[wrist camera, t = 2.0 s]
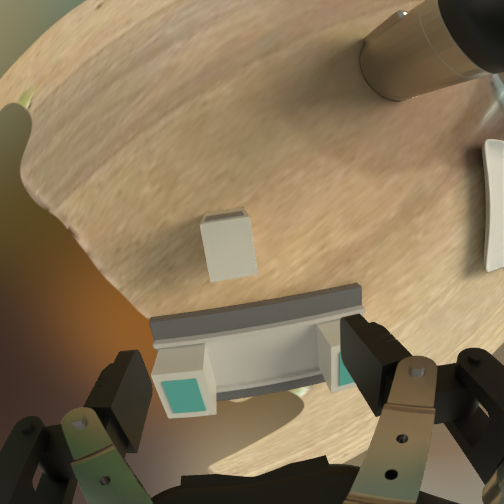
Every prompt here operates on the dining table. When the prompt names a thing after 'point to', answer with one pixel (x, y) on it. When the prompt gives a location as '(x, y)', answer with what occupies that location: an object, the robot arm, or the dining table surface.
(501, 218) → the salad plate
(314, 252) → the dining table surface
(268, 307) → the board
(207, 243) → the loose module
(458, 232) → the dining table surface
